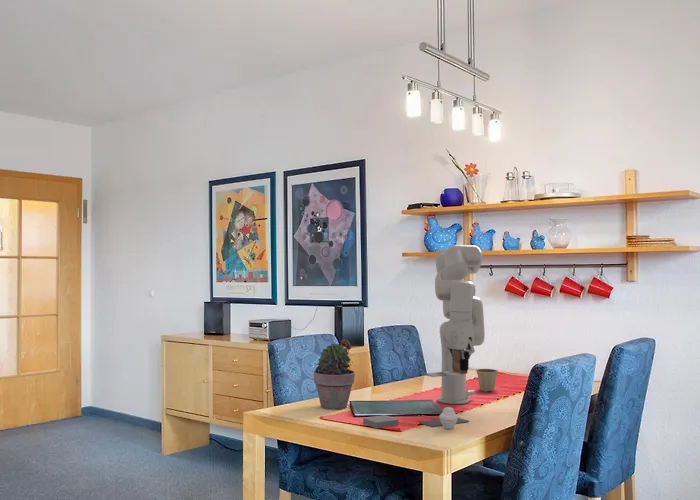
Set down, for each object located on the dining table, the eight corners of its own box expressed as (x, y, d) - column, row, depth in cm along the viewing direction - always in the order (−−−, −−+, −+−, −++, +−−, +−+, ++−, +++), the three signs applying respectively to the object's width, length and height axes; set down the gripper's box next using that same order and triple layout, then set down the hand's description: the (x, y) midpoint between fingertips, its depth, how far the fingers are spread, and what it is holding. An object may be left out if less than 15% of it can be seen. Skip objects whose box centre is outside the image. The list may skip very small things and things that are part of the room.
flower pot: (475, 392, 293) (475, 371, 293) (475, 388, 302) (475, 368, 302) (498, 392, 291) (498, 372, 292) (497, 388, 301) (497, 369, 301)
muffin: (445, 430, 224) (445, 409, 224) (435, 426, 230) (435, 405, 230) (461, 429, 227) (461, 407, 227) (451, 425, 232) (451, 404, 232)
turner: (460, 371, 242) (460, 349, 243) (468, 373, 239) (468, 350, 239) (424, 375, 235) (424, 351, 235) (432, 377, 231) (432, 353, 231)
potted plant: (299, 410, 252) (300, 342, 253) (320, 400, 271) (321, 337, 271) (346, 414, 246) (346, 344, 246) (363, 404, 264) (364, 339, 265)
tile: (385, 414, 238) (363, 417, 233) (398, 419, 231) (376, 422, 227) (385, 421, 238) (363, 424, 233) (398, 426, 231) (376, 429, 226)
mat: (455, 417, 243) (455, 416, 243) (468, 422, 237) (468, 420, 237) (419, 422, 235) (419, 421, 235) (431, 427, 229) (431, 426, 229)
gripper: (437, 315, 245) (437, 367, 245) (468, 318, 231) (467, 373, 231) (454, 314, 249) (453, 365, 249) (485, 318, 235) (484, 372, 235)
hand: (460, 368), depth 240 cm, fingers closed on turner, 3 cm apart
